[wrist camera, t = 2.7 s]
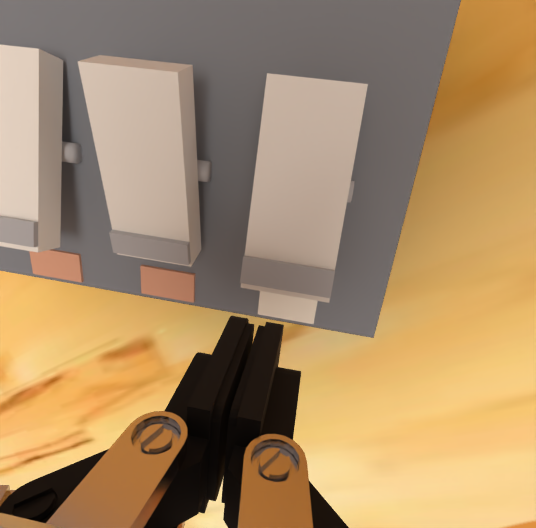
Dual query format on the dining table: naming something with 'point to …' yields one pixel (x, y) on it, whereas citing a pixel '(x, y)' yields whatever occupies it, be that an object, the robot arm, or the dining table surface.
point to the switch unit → (244, 135)
